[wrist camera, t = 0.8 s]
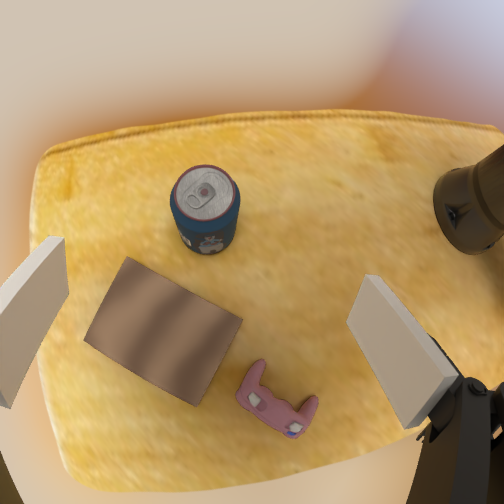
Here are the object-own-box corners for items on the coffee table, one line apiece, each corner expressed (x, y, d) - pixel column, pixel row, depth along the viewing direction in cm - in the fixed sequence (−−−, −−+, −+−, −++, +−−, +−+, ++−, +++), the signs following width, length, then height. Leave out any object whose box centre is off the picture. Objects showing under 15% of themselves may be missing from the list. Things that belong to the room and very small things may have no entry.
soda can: (210, 194, 42) (208, 146, 30) (245, 232, 41) (257, 193, 29) (169, 228, 40) (152, 189, 28) (205, 268, 39) (200, 242, 28)
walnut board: (241, 319, 38) (242, 319, 37) (197, 404, 35) (196, 407, 34) (130, 258, 38) (127, 256, 37) (87, 339, 35) (83, 340, 34)
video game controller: (238, 376, 38) (224, 406, 31) (260, 352, 37) (249, 381, 30) (298, 417, 37) (295, 451, 31) (322, 396, 36) (322, 429, 30)
